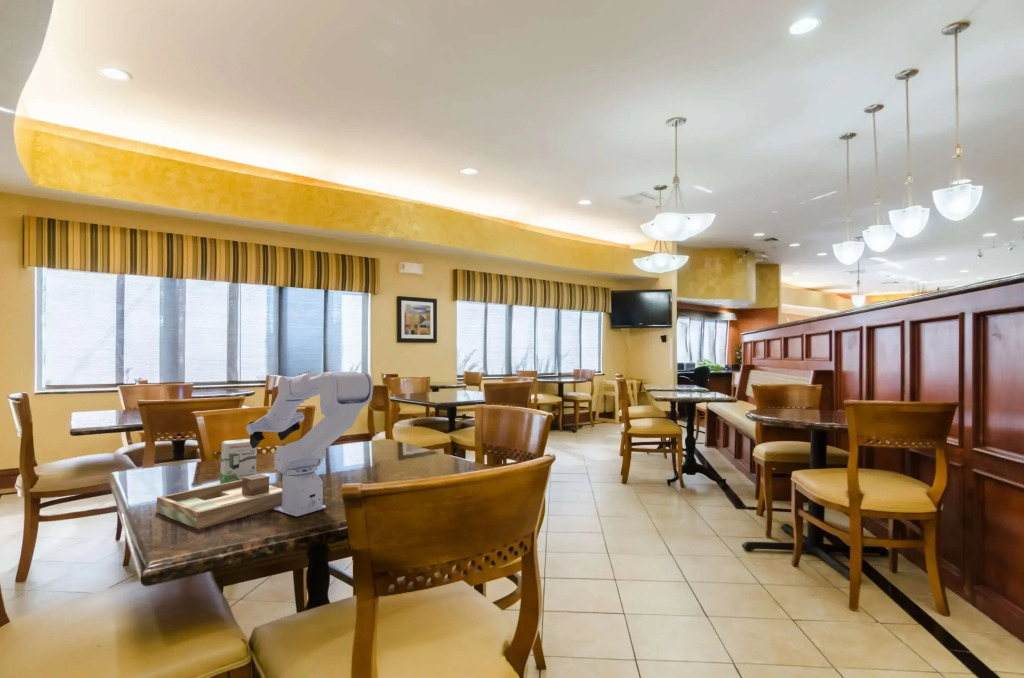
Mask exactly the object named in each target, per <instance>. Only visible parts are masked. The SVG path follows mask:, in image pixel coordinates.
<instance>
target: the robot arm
mask: <svg viewBox="0 0 1024 678" xmlns="http://www.w3.org/2000/svg"><path fill="white" fill-rule="evenodd" d="M277 392H278V394H277V396H276V397H275V400H274V401H273V404H272V406H271V408H270V409H268V410H267V414H265V415H264V416H262V417H260V418H259V419H257V420H253V421H249V422H248V424H247V426H246V428H245V431H246V432H247V434H248V436H249V439H250V444H251V446H252V448H256V447H257V448H258V445H260V443H261V442H262V441H263V440H265V439H266V437H265V436H264V434H263V433H264V432H265V433H277V436H278V438H279V440H280V441H283V440H285V439H286V438H287V437H288V436H291V434H293V433H295V432H297V431H299V430H300V429H301V425H300V423H303V421H304V420H305V418H306V417H305V415H304V413H303V412H302V411H299V412H297V410H298V409H299V407H300V406H301V404H304V402H305V401H306V400H309V399H310V398H312V397H317V396H319V405H320V406H319V407H320V413H321V415H323V416H324V417H323V418H322V419H321V420H320V421H319V422H317V423H316V424H315V425H314V426H313V427H312V428H311V429H310V430H309V431H308V432H307V433H306V434H304V435H303V436H302V437H301V438H300V439H298V440H296V441H292V442H290V443H289V442H288V443H287V444H285V445H279V446H278V447H277V448H276V450H275V451H274V457H273V459H274V460H273V461H274V466H275V468H276V471H278V473H280V474H282V478H281V483H282V484H281V488H282V505H281V506H278V507H274V509H273V510H274V511H278V512H281V513H285V514H287V515H290V516H294V517H300V516H303V515H307V514H310V513H313V512H316V511H321V510H323V509H326V507H327V506H326V505H325V504H324V482H323V479H322V478H321V477H320V476H319V475H317V474H316V471H318V468H319V467H320V466H321V464H322V462H323V461H324V460H323V459H324V458H326V456H327V454H326V449H327V448H329V446H331V445H332V444H333V443H334V442H335V441H336V440H338V439H339V438H340V437H341V436H342V435H344V434H345V433H347V432H348V431H349V430H350V429H351V428H352V427H353V426H354V423H355V421H356V420H357V418H358V417H359V414H360V413H361V412H362V409H363V408H365V407H366V406H367V405H368V404H369V403H371V401H373V394H374V381H373V378H372V376H371V375H370V373H368V372H367V371H362V372H358V371H325V372H322V373H320V374H318V373H317V372H313V370H305V371H303V373H296V374H295V376H286V375H285V376H284V375H283V376H282V377H281V378H280V379H279V381H278V385H277Z"/></svg>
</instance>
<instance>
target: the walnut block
mask: <svg viewBox="0 0 1024 678" xmlns="http://www.w3.org/2000/svg"><path fill="white" fill-rule="evenodd" d="M269 485H270V476H269V475H265V474H261V473H258V474H257V473H256V475H252V476H247V477H242V494H246V495H249V496H255V495H259V494H263V493H267V492H269Z"/></svg>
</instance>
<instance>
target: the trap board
mask: <svg viewBox="0 0 1024 678" xmlns="http://www.w3.org/2000/svg"><path fill="white" fill-rule="evenodd" d="M281 505H282V487H277V486H273V485H270V484H269V492H267V493H263V494H259V495H255V496H249V495H246V494H242V480H237V481H233V482H228V483H220V484H214V485H209V486H204V487H201V488H195V489H194V488H193V489H191V490H186V491H181V492H176V493H172V494H166V495H163V496H157V497H156V513H157V514H159V513H160V515H162V516H164V515H165V517H167V518H169V519H172V520H175V521H177V522H179V523H181V524H185V525H186V526H190V527H192V528H194V529H197V530H200V529H204V528H208V527H212V526H216V525H218V524H222V523H226V521H227V522H229V521H233V520H237V518H238V519H241V518H245V517H248V516H247V515H249V516H251V514H252V515H255V513H256V514H259V513H263V512H267V511H270V510H274V507H278V506H281ZM244 516H245V517H244Z"/></svg>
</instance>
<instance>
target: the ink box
mask: <svg viewBox="0 0 1024 678" xmlns="http://www.w3.org/2000/svg"><path fill="white" fill-rule="evenodd" d="M257 448H258V446H257V447H256V448H252V446H251V444H250V438H243V439H233V440H232V439H230V440H224V441H222V442H221V451H220V452H221V454H220V471H219V472H220V473H219V475H220V476H219V482H220V483H221V482H222V483H221V484H223V483H228V482H233V481H237V480H242V477H247V476H252V475H257V458H258V457H257V456H258V452H257V451H258V449H257Z"/></svg>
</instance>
